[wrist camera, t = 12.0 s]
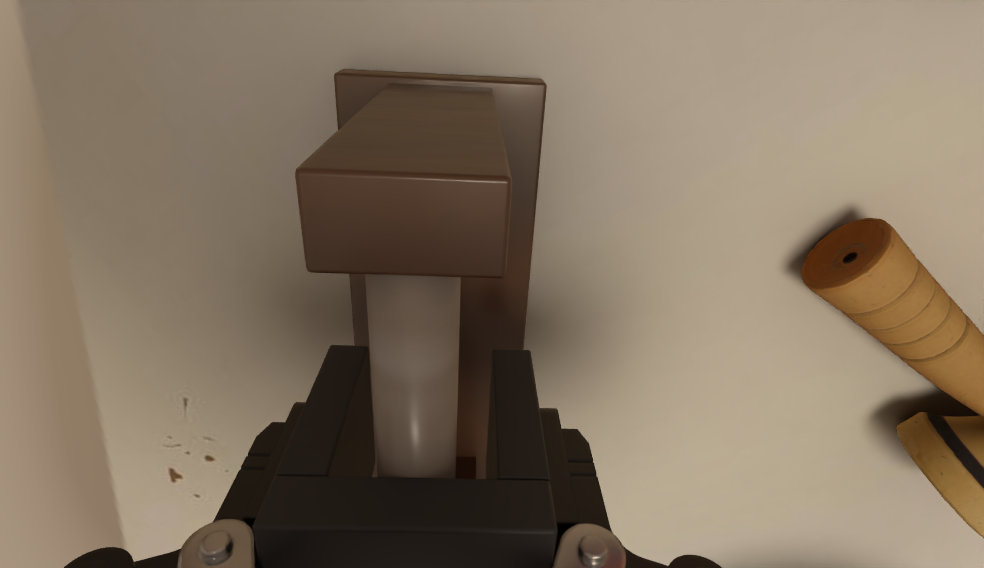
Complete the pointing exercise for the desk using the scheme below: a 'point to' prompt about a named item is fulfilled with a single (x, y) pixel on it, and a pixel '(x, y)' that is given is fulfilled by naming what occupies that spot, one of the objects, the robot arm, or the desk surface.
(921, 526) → the desk surface
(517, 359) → the clip
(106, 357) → the desk surface
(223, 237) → the desk surface
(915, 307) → the kendama
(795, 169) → the desk surface
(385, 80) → the stand
